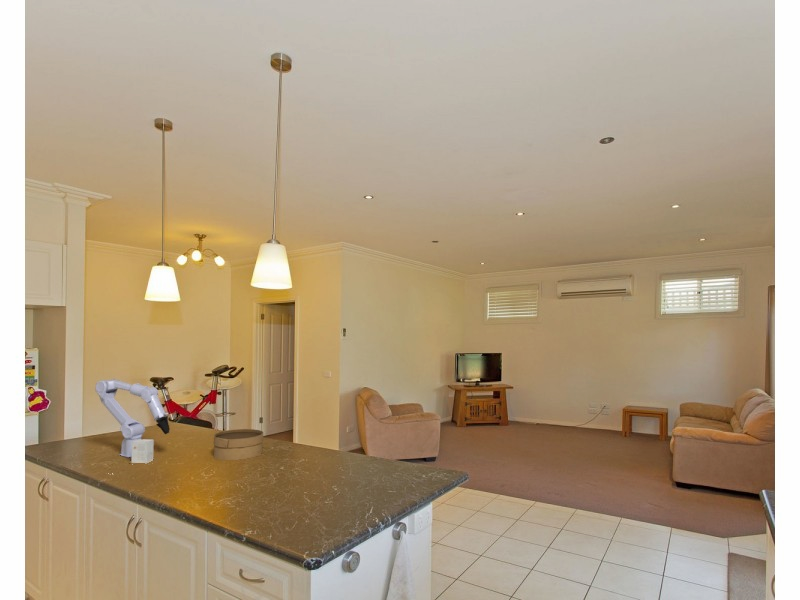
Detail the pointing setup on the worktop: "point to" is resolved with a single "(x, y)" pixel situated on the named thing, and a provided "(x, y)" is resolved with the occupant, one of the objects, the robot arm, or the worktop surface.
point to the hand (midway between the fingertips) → (167, 432)
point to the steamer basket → (238, 444)
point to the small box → (142, 451)
